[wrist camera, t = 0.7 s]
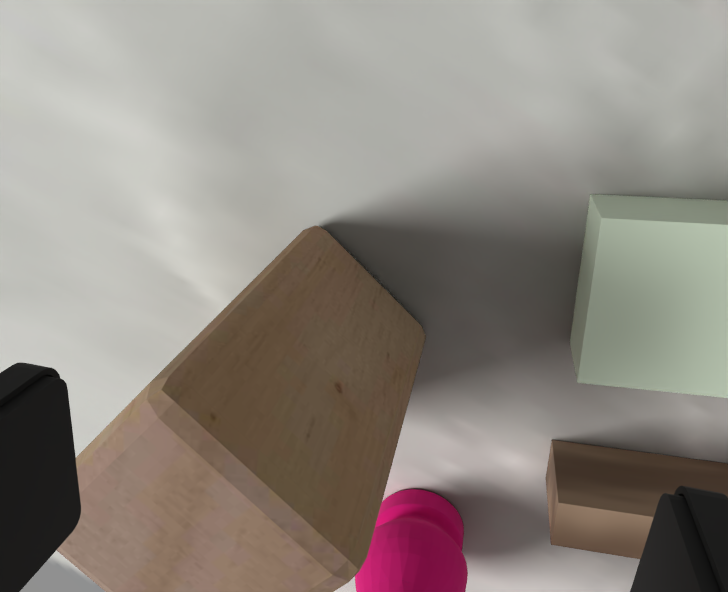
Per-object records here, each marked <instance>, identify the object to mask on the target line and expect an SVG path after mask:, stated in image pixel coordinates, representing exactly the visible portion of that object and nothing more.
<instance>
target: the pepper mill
mask: <svg viewBox="0 0 728 592" xmlns="http://www.w3.org/2000/svg"><path fill="white" fill-rule="evenodd" d="M463 535H464V527H463V522H462V519H461V517H460V515H459V513H458V511H457V510H456V509H455V508H454V507H453V506H452V505H451V504H450V503H449V502H448V501H447V500H446V499H444V498H443V497H441V496H439V495H437V494H435V493H432V492H429V491H425V490H416V489H408V490H403V491H399V492H397V493H394V494H392V495H390V496H389V497H387V498H386V499H385V500H384V501H383V502H382V503H381V506H380V510H379V514H378V518H377V521H376V525H375V529H374V533H373V536H372V540H371V544H370V548H369V551H368V555H367V558H366V560H365V562H364V564H363V565H362V567H361V569H360V571H359V572H358V573H357V574H356V575H355V583H356V591H357V592H465V589H466V583H467V575H468V573H467V565H466V561H465V558H464V555H463V553H462V545H463Z"/></svg>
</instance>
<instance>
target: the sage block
mask: <svg viewBox="0 0 728 592" xmlns="http://www.w3.org/2000/svg"><path fill="white" fill-rule="evenodd" d="M570 347H571V352H572V358H573V363H574V368H575V374H576V379H577V383H583V384H593V385H603V386H613V387H623V388H633V389H643V390H653V391H663V392H673V393H683V394H692V395H702V396H712V397H722V398H728V201H725V200H704V199H683V198H662V197H641V196H620V195H599V194H590V200H589V207H588V214H587V222H586V229H585V236H584V243H583V250H582V258H581V265H580V272H579V279H578V287H577V294H576V301H575V308H574V316H573V323H572V330H571V337H570Z"/></svg>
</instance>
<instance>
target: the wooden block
mask: <svg viewBox="0 0 728 592" xmlns="http://www.w3.org/2000/svg"><path fill="white" fill-rule="evenodd" d="M425 339H426V335H425V333H424V331H423V328H422V326H421V325H420V324H419V323H418V322H417V321H416V320H415V319H414V318H413V317H412V316H411V315H410V314H409V313H408V312H407V311H406V310H405V309H404V308H403V307H402V306H401V305H400V304H399V303H398V302H397V301H396V300H395V299H394V298H393V297H392V296H391V295H390V294H389V293H388V292H387V291H386V290H385V289H384V288H383V287H382V286H381V285H380V284H379V283H378V282H377V281H376V280H375V279H374V278H373V277H372V276H371V275H370V274H369V273H368V272H367V271H366V270H365V269H364V268H363V267H362V266H361V265H360V264H359V263H358V262H357V261H356V260H355V259H354V258H353V257H352V256H351V255H350V254H349V253H348V252H347V251H346V250H345V249H344V248H343V247H342V246H341V245H340V244H339V243H338V242H337V241H336V240H335V239H334V238H333V237H332V236H331V235H330V234H329V233H328V232H327V231H326V230H324V229H322V228H320V227H318V226H313V227H311V228H308V229H305V230H303V231H302V232H301V233H300V234H299V235H298V236H297V237H296V238H295V239H294V240H293V241H292V242H291V243H290V244H289V245H288V246H287V247H286V248H285V249H284V250H283V251H282V252H281V253H280V254H279V255H278V256H277V257H276V258H275V259H274V260H273V261H272V262H271V263H270V264H269V265H268V266H267V267H266V268H265V269H264V270H263V271H262V272H261V273H260V274H259V275H258V276H257V277H256V278H255V279H254V280H253V281H252V282H251V283H250V284H249V285H248V286H247V287H246V288H245V289H244V290H243V291H242V292H241V293H240V294H239V295H238V296H237V297H236V298H235V299H234V300H233V301H232V302H231V303H230V304H229V305H228V306H227V307H226V308H225V309H224V310H223V311H222V312H221V313H220V314H219V315H218V316H217V317H216V318H215V319H214V320H213V321H212V322H211V323H210V324H209V325H208V326H207V327H206V328H205V329H204V330H203V331H202V332H201V333H200V334H199V335H198V336H197V337H196V338H195V339H194V340H193V341H192V342H191V343H190V344H189V345H188V346H187V347H186V348H185V349H184V350H183V351H182V352H181V353H179V354H178V355H177V356H176V357H175V358H174V359H173V360H172V361H171V362H170V363H169V364H168V365H167V366H166V367H165V368H164V369H163V370H162V371H161V372H160V373H159V374H158V375H157V376H156V377H155V378H154V379H153V380H152V381H151V382H150V383H149V384H148V385H147V386H146V387H145V388H144V389H143V390H142V391H141V392H140V393H139V394H138V395H137V397H136V398H135V399H134V400H133V401H132V402H131V403H130V404H129V405H128V406H127V407H126V408H125V409H124V410H123V411H122V412H121V413H120V414H119V415H118V416H117V417H116V418H115V419H114V420H113V421H112V422H111V423H110V424H109V425H108V426H107V427H106V428H105V429H104V430H103V431H102V432H101V433H100V434H99V435H98V436H97V437H96V438H95V439H94V440H93V441H92V442H91V443H90V444H89V445H88V446H87V447H86V448H85V449H84V450H83V451H82V452H81V453H80V454H79V455H78V456H77V457H76V467H77V475H78V484H79V493H80V501H81V515H80V519H79V521H78V524H77V526H76V528H75V529H74V530H73V532H72V533H71V534H70V535H69V536H68V537H67V539H66V540H65V541H64V542H63V543H62V544H61V545H60V546H59V548H58V549H57V551H58V552H59V553H60V554H62V555H63V556H64V557H65V558H66V559H68V560H69V561H70V562H71V563H72V564H74V565H75V566H76V567H77V568H78V569H79V570H81V571H82V572H83V573H84V574H85V575H87V576H88V577H89V578H90V579H91V580H93V581H94V582H95V583H96V584H97V585H98V586H100V587H101V588H102V589H103V590H104V591H106V592H333V591H335V590H337V589H338V588H340V587H341V586H343V585H344V584H346V583H348V582H349V581H350V580H351V579H352V578H353V577H354V576H355V575H356V574H357V573H358V572H359V571H360V569H361V567H362V565H363V564H364V562H365V560H366V558H367V555H368V551H369V548H370V544H371V540H372V536H373V533H374V529H375V525H376V521H377V518H378V514H379V510H380V506H381V503H382V499H383V495H384V492H385V488H386V484H387V480H388V477H389V473H390V469H391V465H392V462H393V458H394V454H395V450H396V447H397V443H398V439H399V436H400V432H401V428H402V424H403V421H404V417H405V413H406V409H407V406H408V402H409V398H410V394H411V391H412V387H413V383H414V380H415V376H416V372H417V368H418V365H419V361H420V357H421V353H422V350H423V346H424V342H425Z"/></svg>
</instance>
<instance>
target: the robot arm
mask: <svg viewBox="0 0 728 592" xmlns="http://www.w3.org/2000/svg"><path fill="white" fill-rule="evenodd" d="M80 515H81V501H80V493H79V484H78V475H77V467H76V458H75V450H74V441H73V433H72V424H71V415H70V407H69V398H68V390H67V385H66V383H65V381H64V380H62V379H60V376H59V374H58V372H57V371H56V370H55V369H53V368H49V367H43V366H38V365H33V364H27V363H16V364H14V365H12V366H11V367H9V368H7V369H6V370H4V371H3V372H1V373H0V592H19V591H20V590H21V589H22V588H23V587H24V586H25V585H26V584H27V582H28V581H29V580H30V579H31V578H32V577H33V576H34V575H35V573H36V572H37V571H38V570H39V569H40V568H41V567H42V566H43V564H44V563H45V562H46V561H47V560H48V559H49V558H50V557H51V555H52V554H53V553H54V552H55V551H56V550H57V549H58V548H59V546H60V545H61V544H62V543H63V542H64V541H65V540H66V539H67V537H68V536H69V535H70V534H71V533H72V532H73V530H74V529H75V528H76V526H77V524H78V521H79V519H80ZM630 592H728V497H727V496H726V495H725V494H723V493H719V492H714V491H708V490H703V489H698V488H692V487H687V486H679V487H678V488H677V489H676V490H675V493H674V495H673V494H668V493H664V494H662V496H661V497H660V500H659V502H658V505H657V508H656V512H655V515H654V518H653V521H652V524H651V528H650V531H649V534H648V537H647V540H646V543H645V547H644V550H643V553H642V556H641V559H640V562H639V566H638V569H637V572H636V575H635V578H634V582H633V585H632V588H631V591H630Z"/></svg>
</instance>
